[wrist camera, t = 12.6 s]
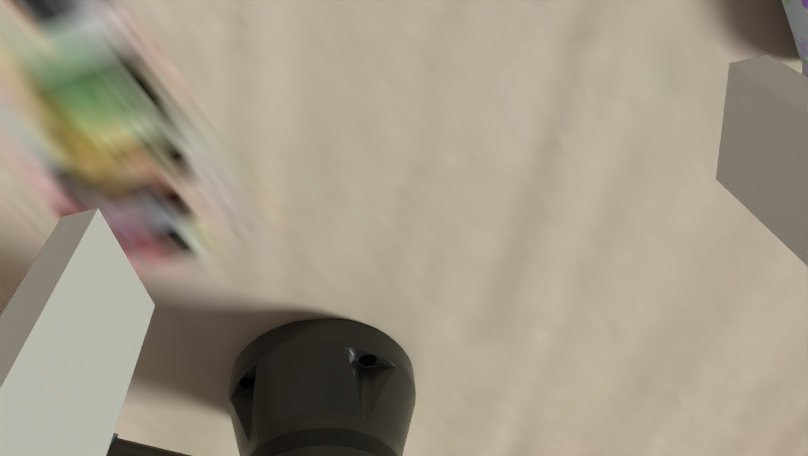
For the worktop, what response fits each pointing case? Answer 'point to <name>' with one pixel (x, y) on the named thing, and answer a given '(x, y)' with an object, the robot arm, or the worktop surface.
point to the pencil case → (799, 28)
